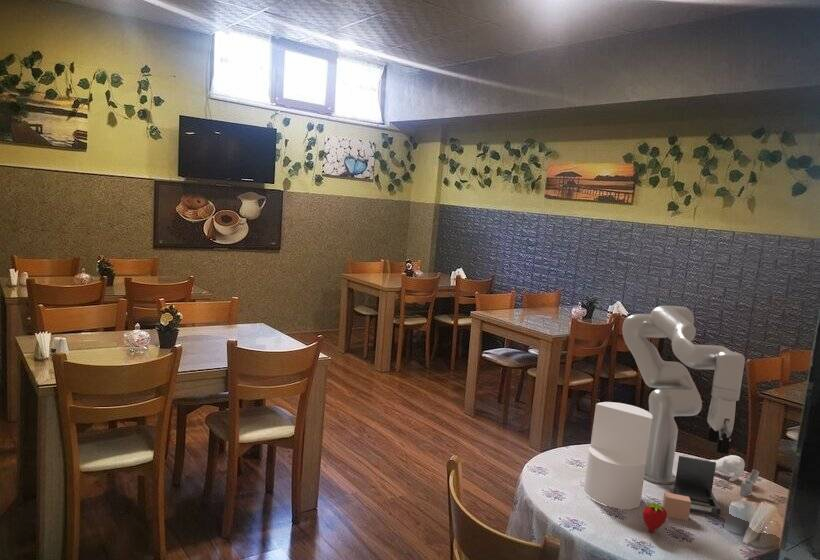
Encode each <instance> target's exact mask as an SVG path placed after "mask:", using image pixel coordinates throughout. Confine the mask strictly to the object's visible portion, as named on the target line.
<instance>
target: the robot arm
mask: <svg viewBox="0 0 820 560" xmlns="http://www.w3.org/2000/svg"><path fill="white" fill-rule="evenodd" d="M694 323H695V317H694V313H693V311H691V309H689V308H688V307H685V306H679V305H659V306H656V307H655V308H653V309H652V311H651V312H650V313H637V314H636V313H634V314H631V315H629V316H627V317H626V318H625V319H624V321H623V323H622V329H621V330H622V337H623V340H624V343H625V345H626V346H627V349H628V350H629V351H630V353H631V355H632V356H633V358H634V361H635V363H636V366H637V369H638V371H639V373H640V375H641V377H642V380H643V382H644V384H646V386H648V387H649V388H652V389H653V390H652V391H651V392H650V393H649V396H648V412H649V413H650V414H652V416H653V419H652V426H651V433H650V440H649V447H648V454H647V461H646V468H645V475H644V480H646V481H649V482H651V483H655V484H661V485H672V484H675V480H676V475H675V474H674V473H673V467H674V461H675V455H676V454H675V453H676V449H677V448H676V447H677V441H678V435H679V434H678V433H679V428H678V424H677V423H676V420H675V417H693V416H697V415H698V414H699V413H700V412H701V411H702V408H703V402H702V397H701V395H700V392H699V390H698V388H697V386H696V384H695V382H694V380H693V378H692V375H691V373H690V372H689V370H688V368H687V367H689V368H690V369H694V370H711V371H712V370H714V373H713V378H712V387H711V392H710V395H711V398H710V404H709V407H708V412H707V417H706V422H707V423H708V425H709V426H708V432H707V439H706V440H707V441H708V442H713V443H717V444H716V449H715V451H716V452H717V454H718V453H719V454H725V455H728V454H729V451H730V445H731V441H732V440H731V438H732V434H733V430H734V426H735V416H736V405H737V404H736V403H737V401H738V402H739V401H740V396H741V391H742V390H741V388H742V381H743V377H744V370H745V363H746V358H745V356H744V354H742V353H740V352H738V351H737V352H736V351H732V350H730V349H729V348H727V347H725V346H722V345H716V344H715V345H714V344H695V343H694V342H692V341H693V340H694V338H695V337H696V335H697V333H696V331H697V330H696V327H695V325H694ZM647 338H655V339H663V338H664V339H665V338H666V339H667V338H668V339H669V340H670V341H671V349H672V352H673V354H674V356H675V357H676V358H677V359H678V360H680V362H678V361H668V360H663V358H662V357H661V355H660V353H659V351H658V348H657V347H656V346H655V345H654V344H653V343H652V342H651V341H649V340H648V339H647ZM682 363H683V364H682Z"/></svg>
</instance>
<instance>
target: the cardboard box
mask: <svg viewBox="0 0 820 560" xmlns="http://www.w3.org/2000/svg"><path fill="white" fill-rule="evenodd" d="M662 498H663V499H662V503H661V504H662V505H661V506H664V507H663V508H664V509H665V510H666V512H667V518H673V519H678V520H682V521H687V522H688V521H689V518H690V512H691V511H690V505H691V501H690V498H689V497H688V496H682V495H677V494H675V493H671V492H663V497H662Z"/></svg>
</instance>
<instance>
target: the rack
mask: <svg viewBox="0 0 820 560" xmlns="http://www.w3.org/2000/svg"><path fill="white" fill-rule="evenodd" d="M715 467H716V462H712V461H709V460H705V459H700V458H695V457H690V456H684V455H679V456H678V460H677V467H676V473H675V474H676V475H675V476H676V480H675V483H674V489H673V491H674V494H677V495H682V496H688V497H689V498H690V501H691V505H690V512H692V513H697V514H702V515H708V516H710V517H711V516H712V517H716V518H720V517H721V512H722V511H721V507H720V505H719V503H718V500H717V499H716V497H715V495H714V493H713V486H714V481H715V479H714V478H715V472H716V471H715Z"/></svg>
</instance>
